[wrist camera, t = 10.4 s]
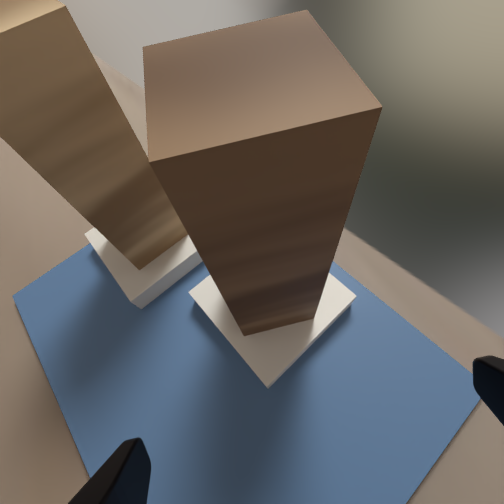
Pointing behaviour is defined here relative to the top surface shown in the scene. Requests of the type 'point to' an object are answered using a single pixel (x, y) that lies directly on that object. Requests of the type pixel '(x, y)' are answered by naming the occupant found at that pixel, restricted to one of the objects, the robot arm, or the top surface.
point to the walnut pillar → (260, 157)
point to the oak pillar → (78, 130)
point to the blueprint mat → (241, 384)
